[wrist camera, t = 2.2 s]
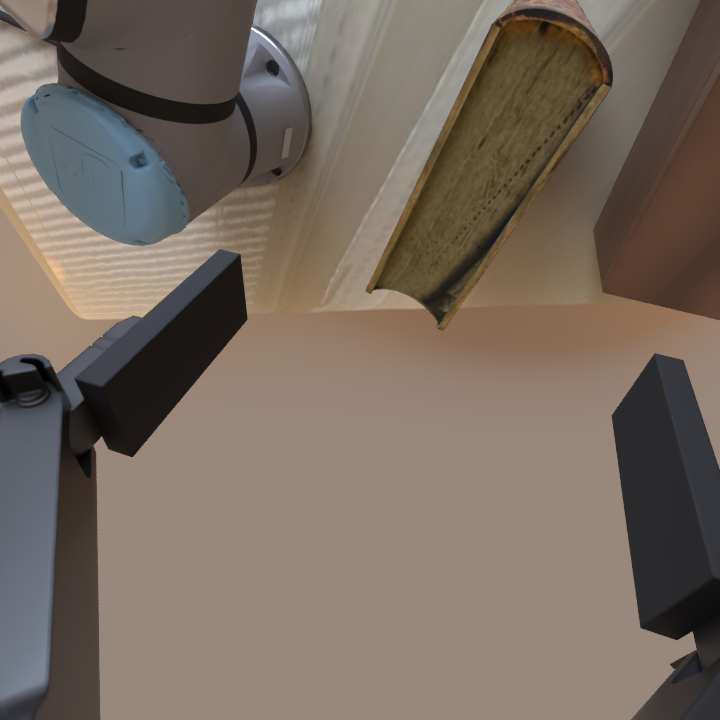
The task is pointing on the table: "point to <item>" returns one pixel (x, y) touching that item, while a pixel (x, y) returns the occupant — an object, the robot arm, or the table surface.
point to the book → (496, 151)
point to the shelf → (671, 187)
